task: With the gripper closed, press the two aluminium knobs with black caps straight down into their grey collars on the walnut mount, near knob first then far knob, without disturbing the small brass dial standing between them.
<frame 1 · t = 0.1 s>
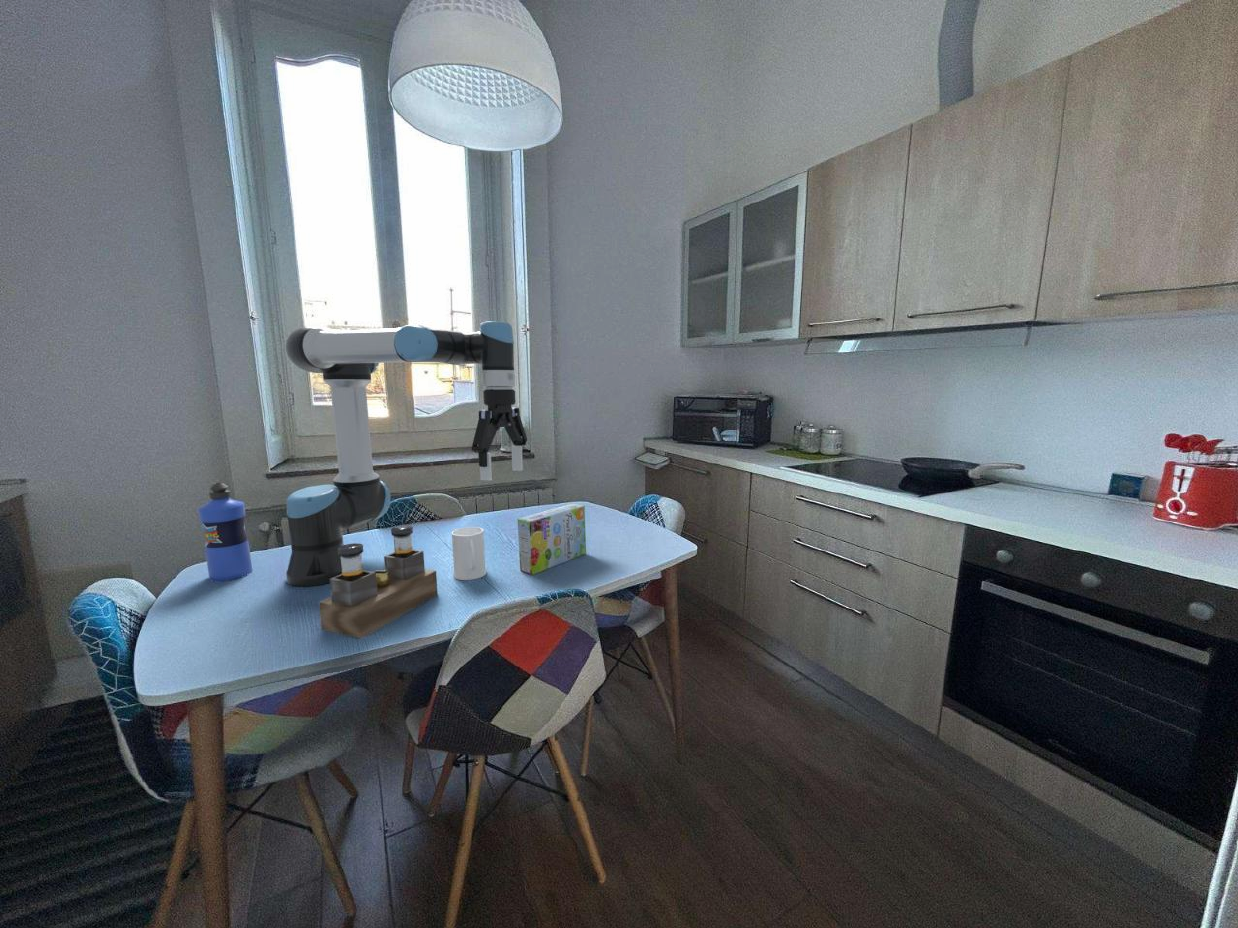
hand: (502, 475, 120), 28 cm above the table, fingers open, 13 cm apart
knob far: (403, 543, 113), point 13 cm above the table, slide at 0.0 cm
mount: (384, 610, 109), on the table
knob near: (352, 564, 100), point 13 cm above the table, slide at 0.0 cm
snack box: (554, 562, 138), on the table
water bottle: (231, 575, 129), on the table
dial: (381, 585, 108), point 6 cm above the table, touching mount
mug: (470, 577, 128), on the table
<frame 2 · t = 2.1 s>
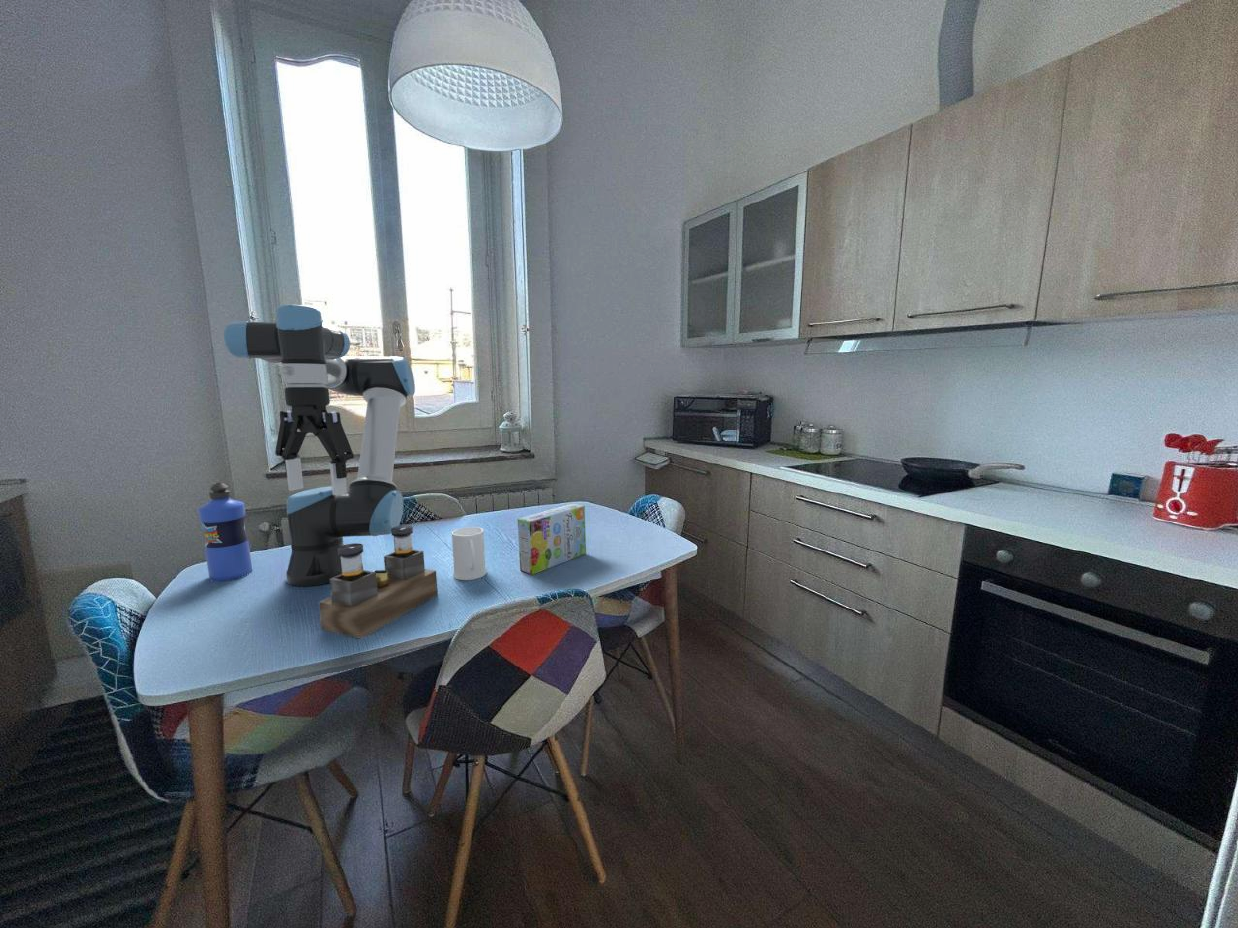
hand: (317, 491, 100), 28 cm above the table, fingers open, 12 cm apart
nothing on the table moved.
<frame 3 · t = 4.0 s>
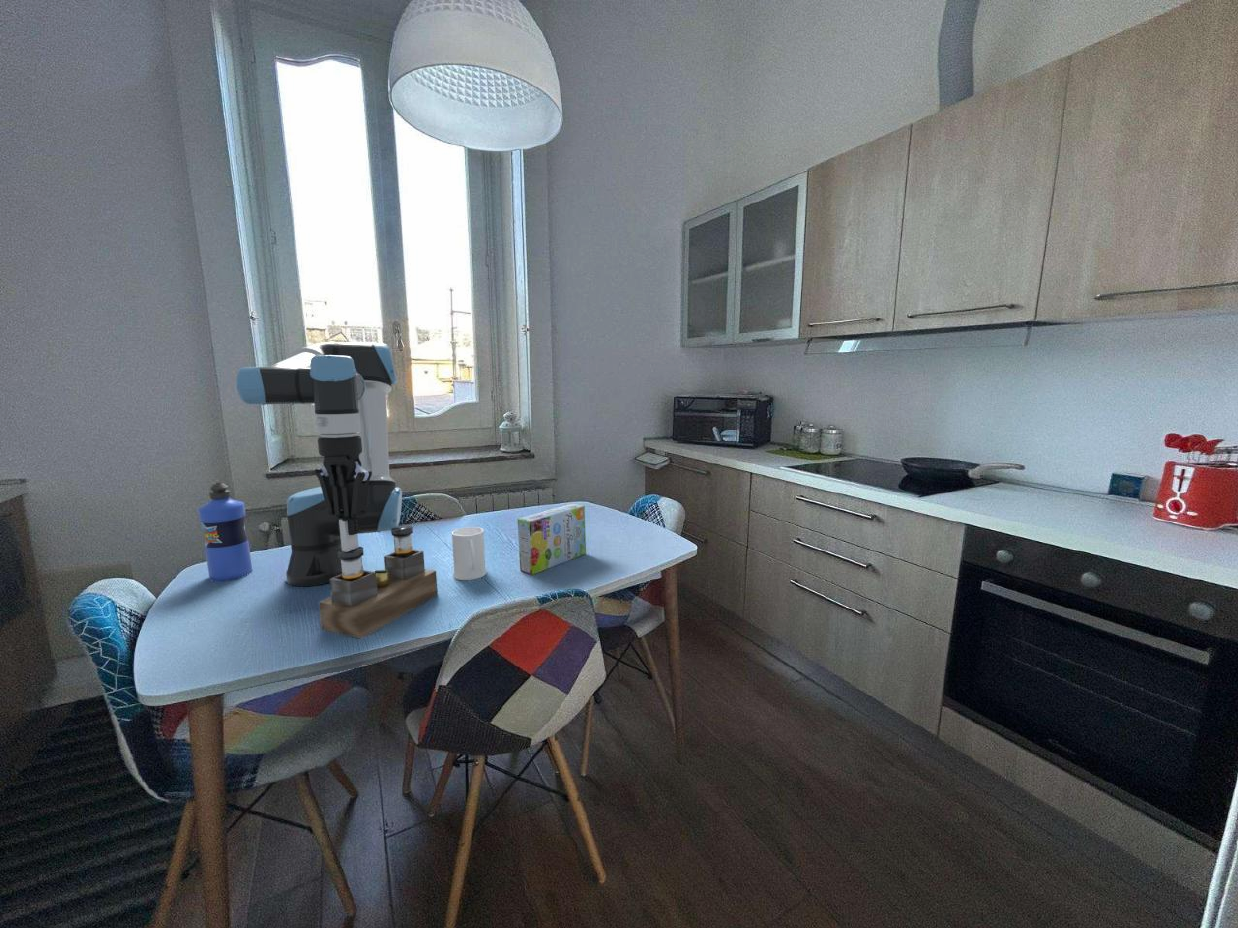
hand: (350, 549, 99), 17 cm above the table, fingers closed
knob near: (352, 567, 100), point 13 cm above the table, slide at 0.7 cm, touching gripper
everything else where it was.
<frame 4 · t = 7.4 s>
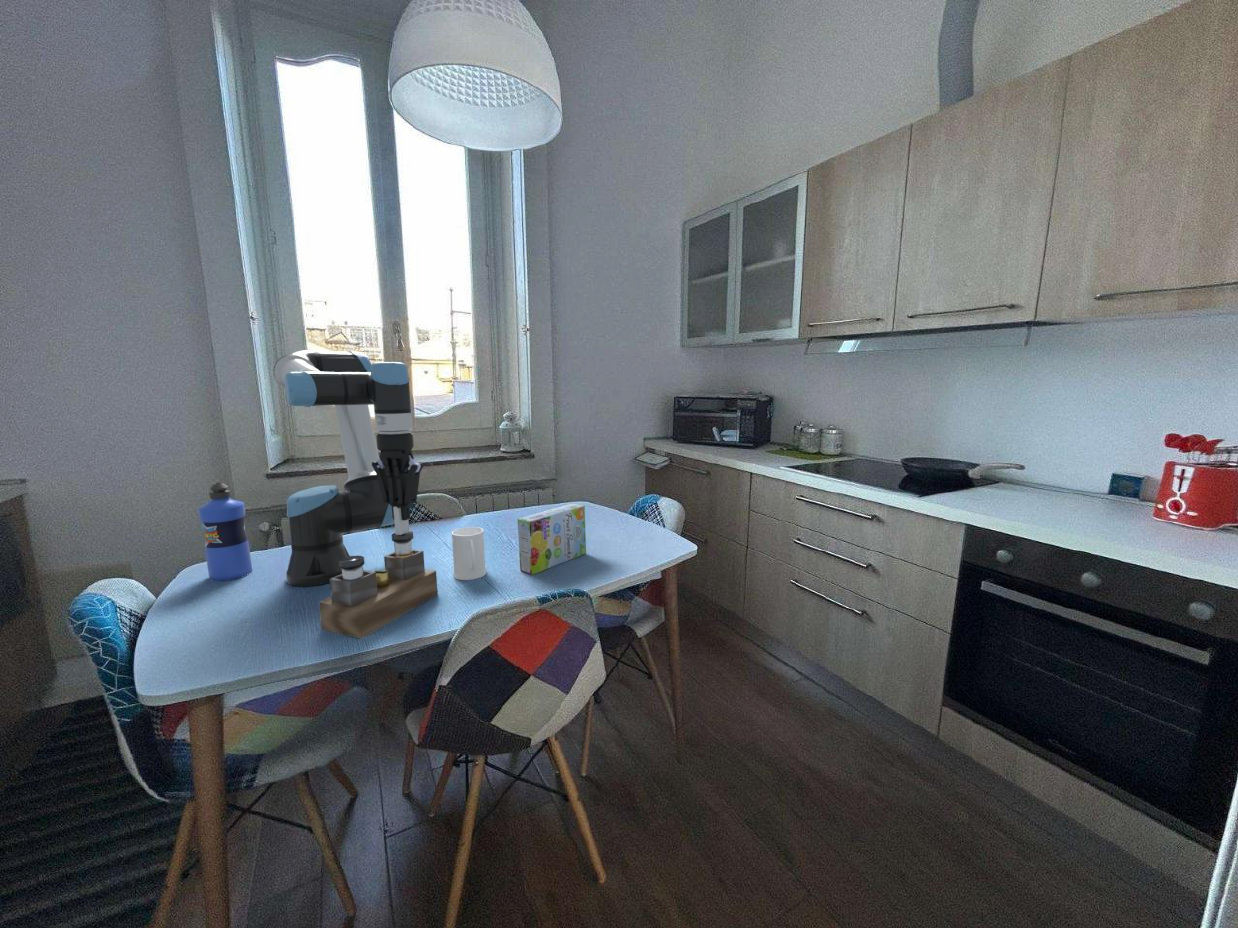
hand: (402, 532, 113), 16 cm above the table, fingers closed
knob far: (403, 549, 113), point 12 cm above the table, slide at 1.4 cm, touching gripper
knob near: (353, 576, 101), point 11 cm above the table, slide at 2.7 cm
everything else where it was.
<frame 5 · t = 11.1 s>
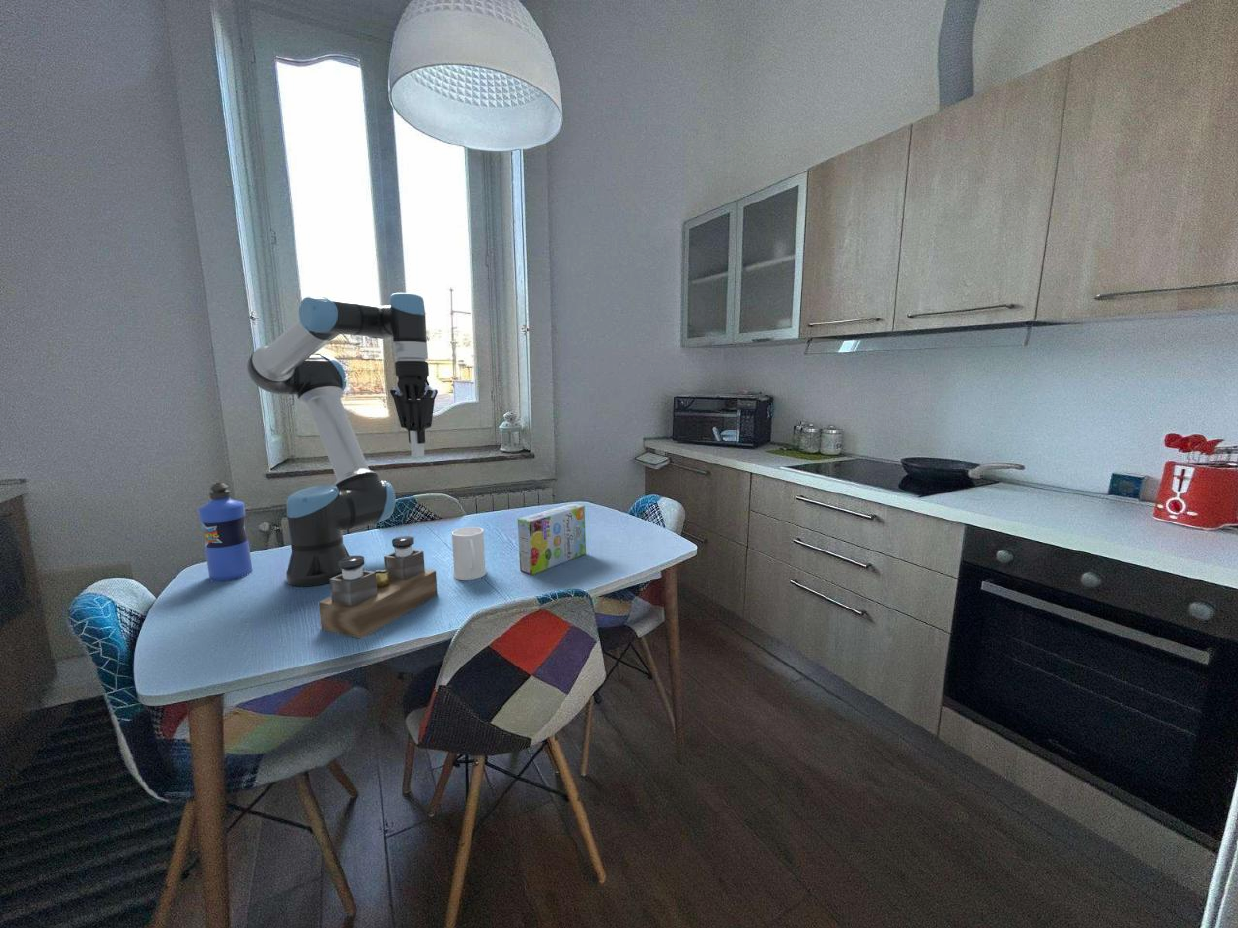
hand: (418, 456, 121), 32 cm above the table, fingers closed
knob far: (404, 554, 113), point 11 cm above the table, slide at 2.7 cm
everything else where it was.
at the end: knob near slide at 2.7 cm; knob far slide at 2.7 cm; dial moved 0.0 cm from its start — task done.
